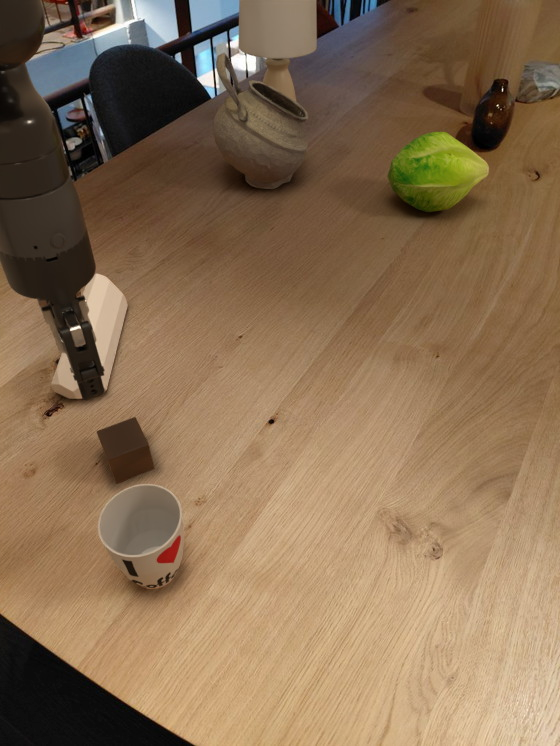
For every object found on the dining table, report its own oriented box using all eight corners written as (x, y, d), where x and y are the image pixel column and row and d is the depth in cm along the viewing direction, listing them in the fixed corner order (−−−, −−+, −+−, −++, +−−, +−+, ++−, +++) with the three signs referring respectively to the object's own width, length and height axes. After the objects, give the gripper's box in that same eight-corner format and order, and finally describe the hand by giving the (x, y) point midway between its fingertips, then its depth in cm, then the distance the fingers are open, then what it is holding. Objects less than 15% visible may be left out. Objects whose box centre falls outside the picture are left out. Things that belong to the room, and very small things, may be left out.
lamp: (314, 118, 155) (322, -50, 129) (310, 146, 142) (318, -34, 116) (247, 115, 156) (241, -52, 130) (236, 142, 143) (228, -36, 117)
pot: (200, 189, 125) (187, 65, 107) (240, 153, 139) (235, 37, 121) (286, 208, 119) (288, 80, 102) (320, 168, 133) (326, 49, 115)
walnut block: (116, 484, 70) (107, 459, 67) (104, 455, 73) (96, 430, 70) (154, 468, 72) (148, 444, 68) (142, 441, 75) (135, 416, 72)
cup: (125, 614, 59) (105, 569, 52) (111, 547, 64) (91, 498, 57) (201, 586, 61) (191, 539, 54) (181, 523, 66) (170, 473, 59)
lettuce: (489, 221, 117) (501, 166, 105) (390, 231, 119) (391, 179, 108) (477, 172, 124) (487, 117, 113) (384, 183, 127) (384, 130, 115)
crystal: (69, 282, 93) (29, 387, 76) (102, 263, 91) (68, 366, 74) (100, 312, 98) (69, 417, 81) (133, 295, 96) (107, 399, 79)
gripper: (-21, 203, 51) (31, 340, 62) (7, 286, 42) (62, 428, 53) (64, 185, 53) (99, 320, 65) (107, 260, 45) (139, 401, 56)
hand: (82, 369), depth 59 cm, fingers open, 8 cm apart
